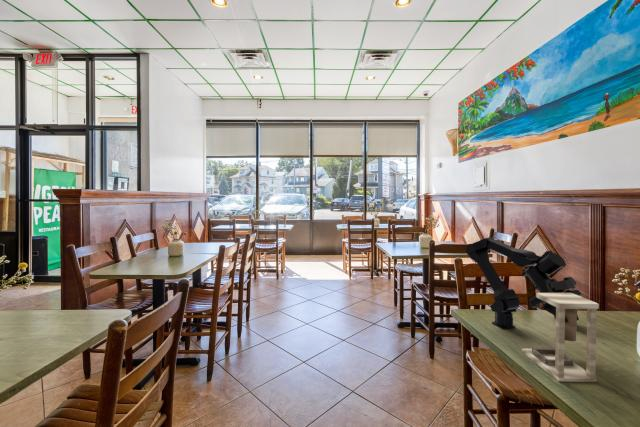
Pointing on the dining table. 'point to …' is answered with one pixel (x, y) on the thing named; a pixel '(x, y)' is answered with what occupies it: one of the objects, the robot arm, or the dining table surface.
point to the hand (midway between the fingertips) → (572, 321)
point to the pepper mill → (571, 324)
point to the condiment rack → (555, 357)
